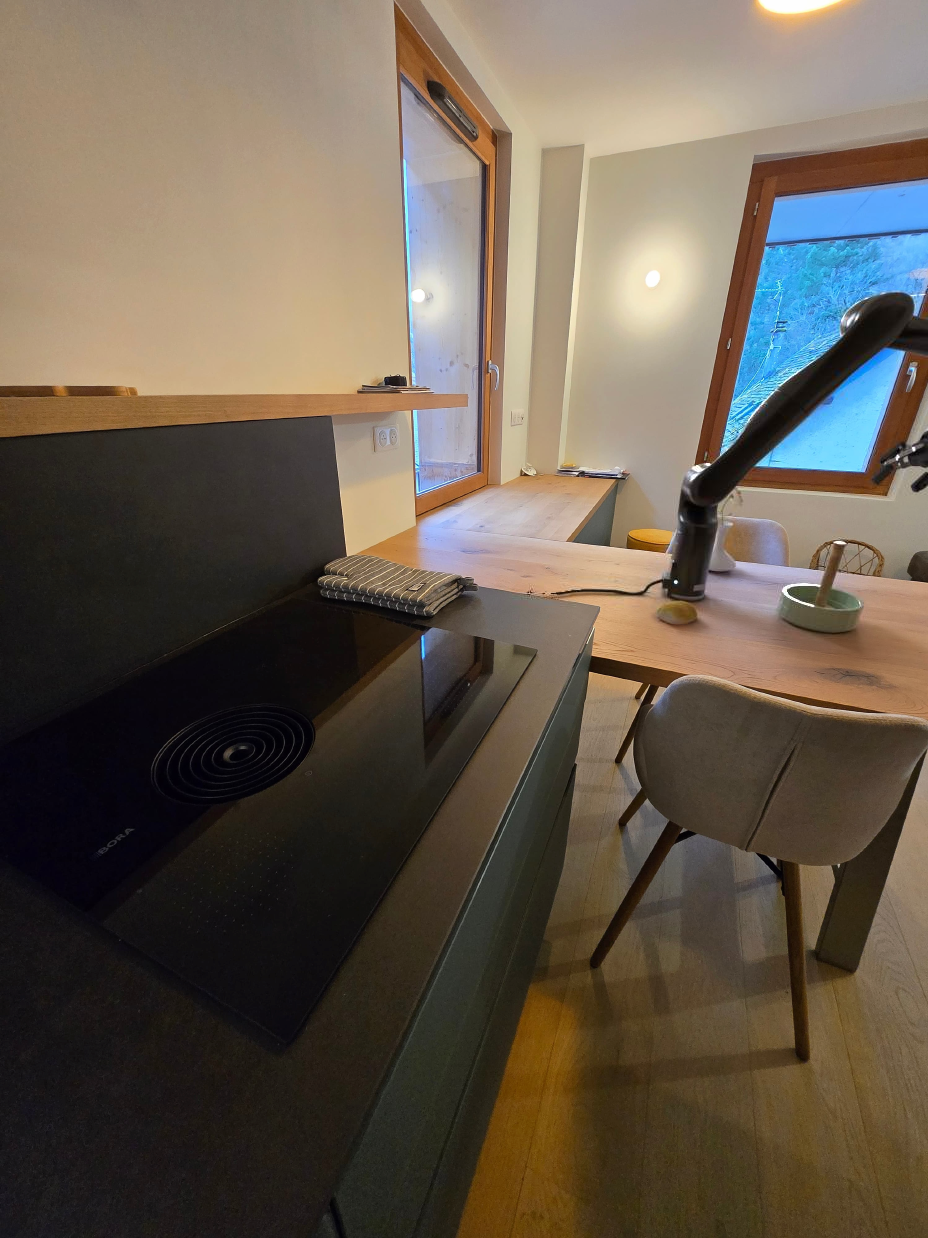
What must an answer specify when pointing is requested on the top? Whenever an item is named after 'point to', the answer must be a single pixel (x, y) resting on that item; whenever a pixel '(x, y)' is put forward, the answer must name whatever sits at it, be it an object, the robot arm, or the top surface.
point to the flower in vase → (719, 555)
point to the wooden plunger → (829, 575)
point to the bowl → (820, 609)
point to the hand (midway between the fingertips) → (893, 485)
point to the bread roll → (677, 612)
